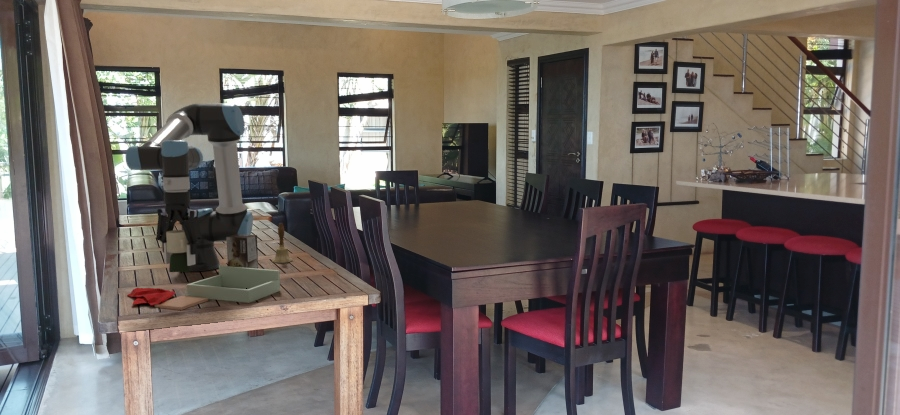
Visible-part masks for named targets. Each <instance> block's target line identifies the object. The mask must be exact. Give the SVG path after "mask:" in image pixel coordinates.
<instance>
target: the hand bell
mask: <svg viewBox="0 0 900 415" xmlns="http://www.w3.org/2000/svg"><path fill="white" fill-rule="evenodd" d="M284 227H285V226H284V223H282V222H280V223H278V227H277V234H278V237H279V247H277V248H276V250H275V255H274V256H275V257H274V258H273V259H272V261H271V262H272V263H274V264H285V263H291V262H293V261H294V260H293V258H291V256H290V255H289V251H288V247H286V246H285V243H284V242H285V241H284V237H285V228H284Z"/></svg>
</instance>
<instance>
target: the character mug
mask: <svg viewBox="0 0 900 415" xmlns="http://www.w3.org/2000/svg"><path fill="white" fill-rule="evenodd" d="M166 238H167V252H169V253H172V255H171V257H170V263H169V270H168V271H169V273H179V274H183V273H188V272H190V271H191V266H187V244H188V240H187V237H186V235H185V232H184V230H182V229H175V230H174V229H173V230H172V231H167V232H166Z"/></svg>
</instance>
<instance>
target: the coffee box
mask: <svg viewBox="0 0 900 415" xmlns="http://www.w3.org/2000/svg"><path fill="white" fill-rule="evenodd" d="M226 240H227V242H226V254H227V259H226V260H227V266H230V267H243V268H255V269H259V253H258V235H257V234H251V235H244V234H235V235H232V236H228V237H226Z"/></svg>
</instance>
